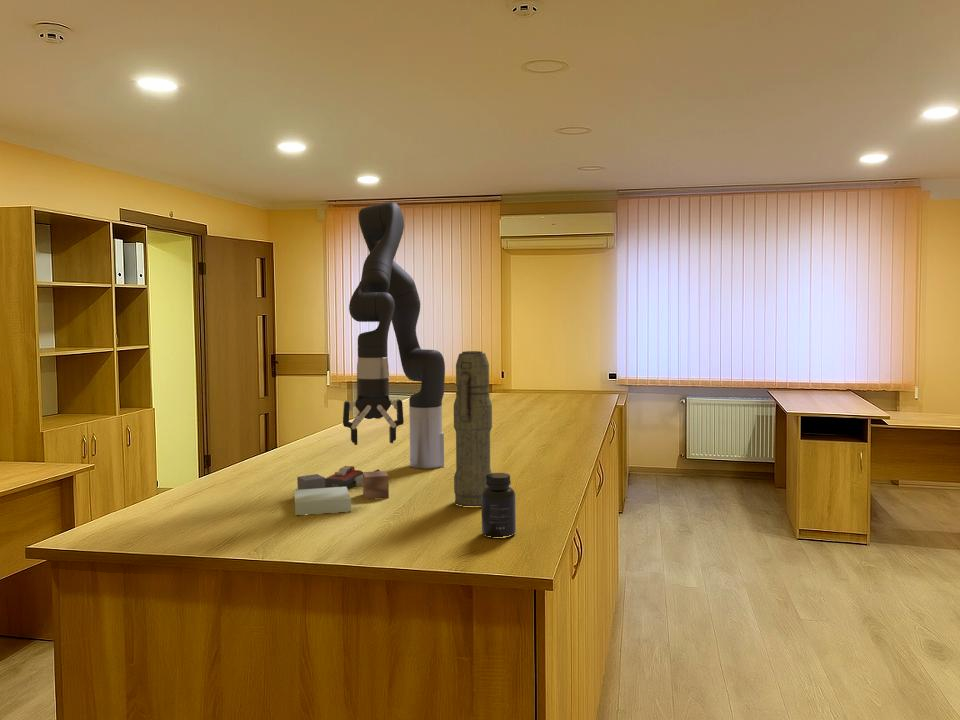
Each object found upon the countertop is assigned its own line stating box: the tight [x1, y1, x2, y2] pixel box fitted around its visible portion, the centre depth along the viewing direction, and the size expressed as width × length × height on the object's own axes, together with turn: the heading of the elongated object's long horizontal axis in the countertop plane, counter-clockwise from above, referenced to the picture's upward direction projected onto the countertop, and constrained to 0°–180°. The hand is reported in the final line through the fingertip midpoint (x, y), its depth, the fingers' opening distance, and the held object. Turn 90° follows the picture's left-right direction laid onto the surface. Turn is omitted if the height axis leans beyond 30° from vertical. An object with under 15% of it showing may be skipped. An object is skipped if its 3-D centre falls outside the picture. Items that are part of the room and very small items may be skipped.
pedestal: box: [294, 487, 352, 516], centre depth 175 cm, size 12×12×3 cm
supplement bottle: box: [480, 472, 517, 537], centre depth 152 cm, size 7×7×12 cm
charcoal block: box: [296, 473, 326, 490], centre depth 184 cm, size 5×5×5 cm
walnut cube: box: [362, 470, 390, 500], centre depth 184 cm, size 6×6×6 cm
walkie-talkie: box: [325, 465, 381, 490], centre depth 200 cm, size 9×4×20 cm
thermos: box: [453, 350, 493, 506], centre depth 176 cm, size 9×12×35 cm
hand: (373, 443), depth 184 cm, fingers open, 8 cm apart
